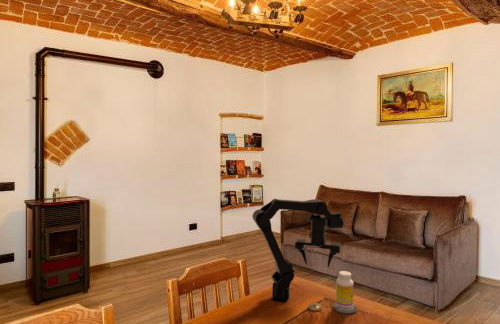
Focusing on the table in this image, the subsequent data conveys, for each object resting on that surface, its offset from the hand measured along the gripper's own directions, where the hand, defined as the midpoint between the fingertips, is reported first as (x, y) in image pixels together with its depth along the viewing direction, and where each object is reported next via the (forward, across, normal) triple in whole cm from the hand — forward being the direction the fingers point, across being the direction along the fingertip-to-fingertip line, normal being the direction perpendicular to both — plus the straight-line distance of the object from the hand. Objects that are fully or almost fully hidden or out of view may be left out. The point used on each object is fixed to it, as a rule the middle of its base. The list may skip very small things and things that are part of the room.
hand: (317, 265), depth 150 cm
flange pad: (+13, -12, +8) cm, 20 cm away
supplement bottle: (+12, -12, +8) cm, 19 cm away
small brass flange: (+13, -1, +12) cm, 18 cm away
